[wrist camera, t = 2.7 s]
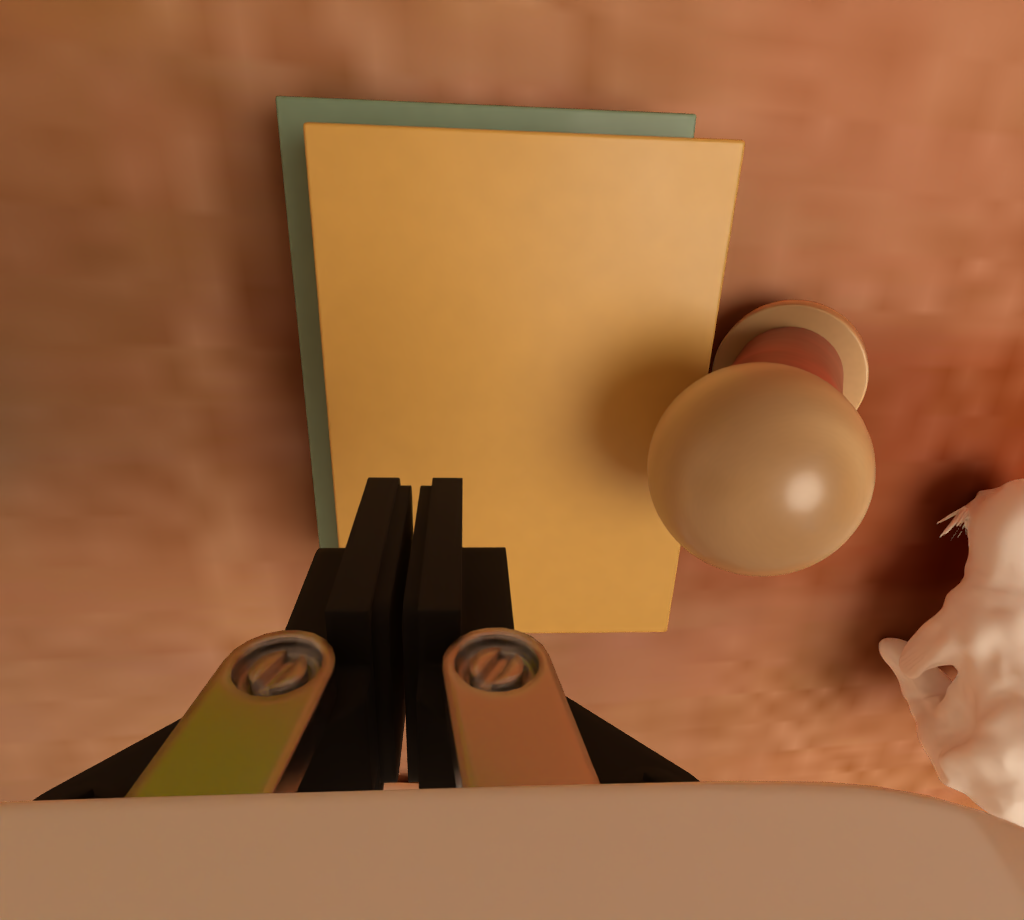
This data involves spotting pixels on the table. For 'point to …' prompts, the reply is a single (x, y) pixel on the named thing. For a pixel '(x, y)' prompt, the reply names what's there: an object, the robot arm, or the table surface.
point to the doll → (768, 445)
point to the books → (508, 326)
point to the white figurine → (975, 661)
